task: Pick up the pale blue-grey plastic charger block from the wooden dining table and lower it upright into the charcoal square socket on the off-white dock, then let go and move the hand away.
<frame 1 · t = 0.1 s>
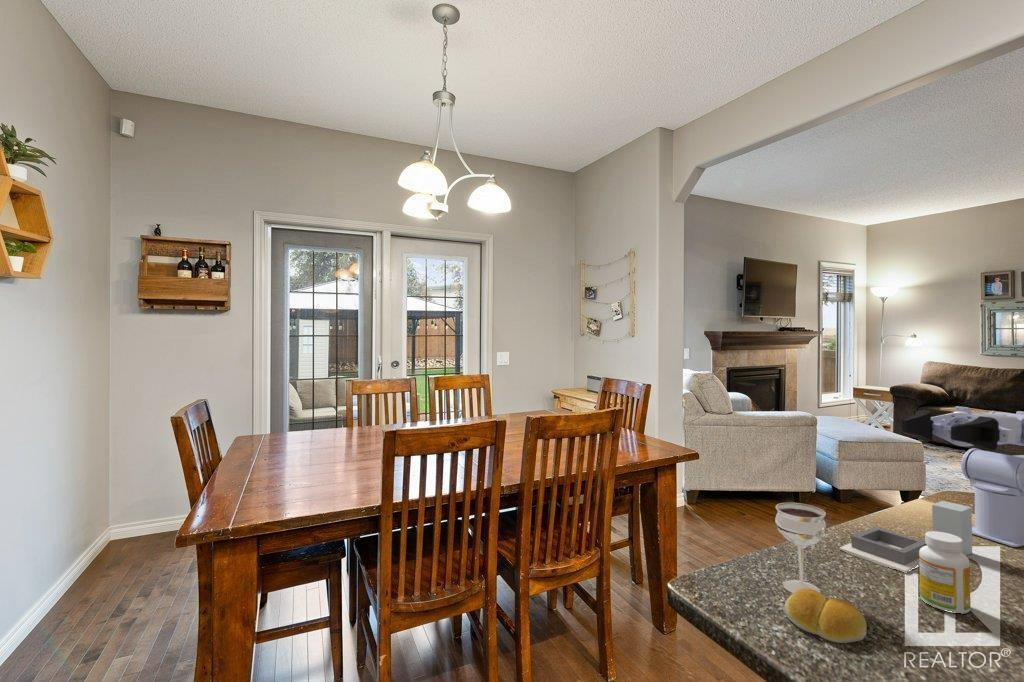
hand: (927, 429, 85), 22 cm above the countertop, tool horizontal, fingers open, 7 cm apart
bread roll: (823, 627, 65), on the countertop
dock: (889, 553, 85), on the countertop
wineglass: (801, 589, 74), on the countertop
supplement bottle: (944, 605, 69), on the countertop
charger block: (952, 551, 85), on the countertop
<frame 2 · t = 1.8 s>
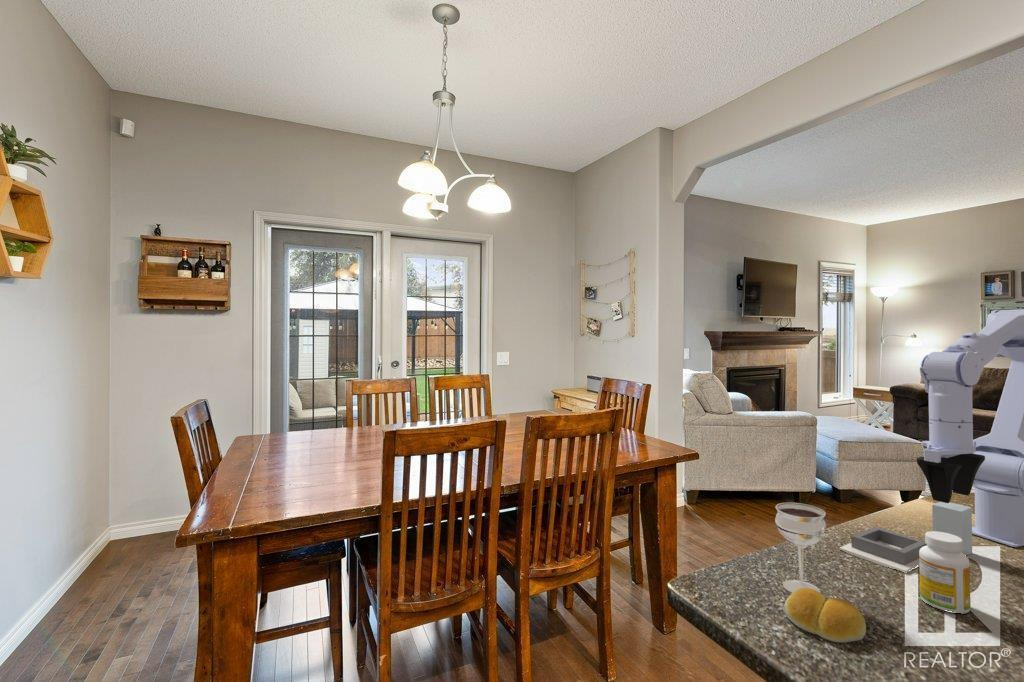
hand: (951, 497, 85), 9 cm above the countertop, tool pointing down, fingers open, 7 cm apart
nothing on the countertop moved.
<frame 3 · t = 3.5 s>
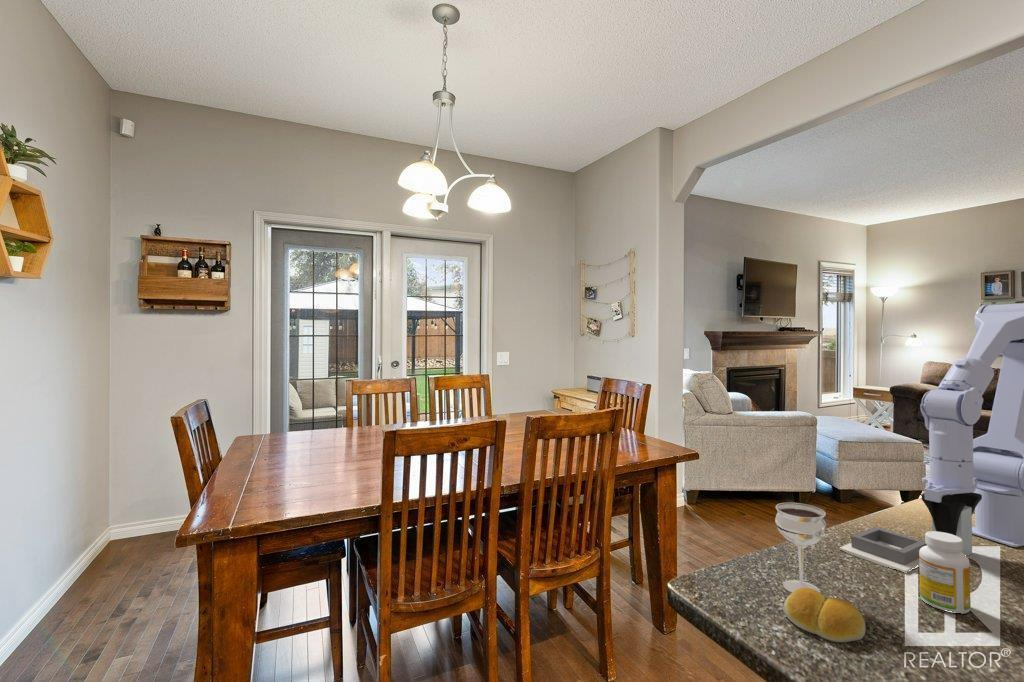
hand: (952, 535, 85), 3 cm above the countertop, tool pointing down, fingers closed on charger block, 4 cm apart
charger block: (952, 551, 85), on the countertop, touching gripper
everything else where it was.
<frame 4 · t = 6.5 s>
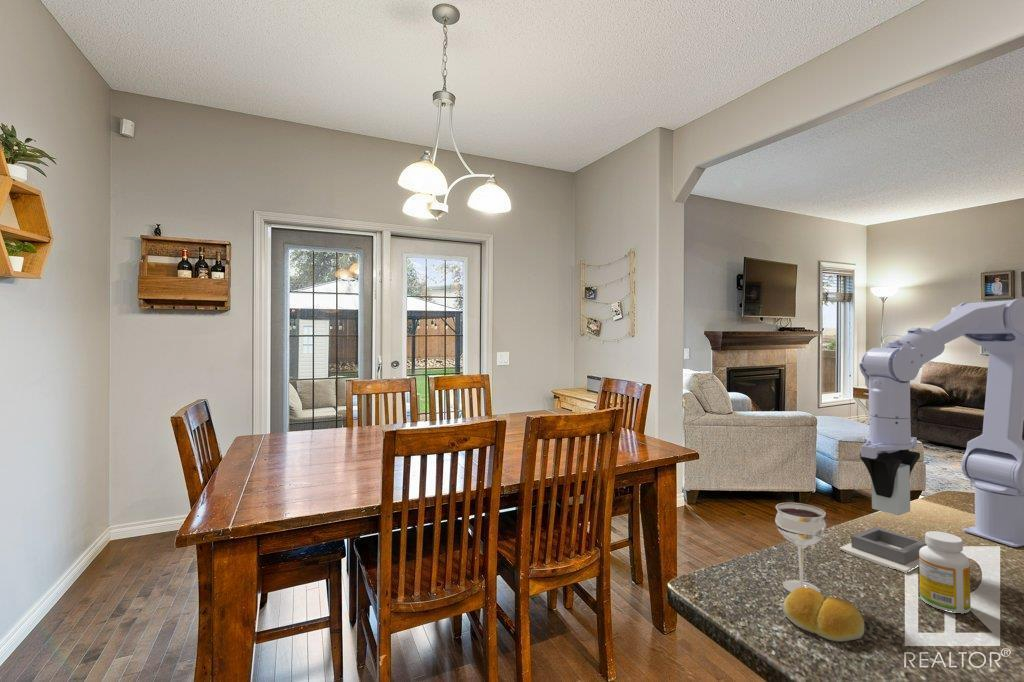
hand: (890, 493, 85), 10 cm above the countertop, tool pointing down, fingers closed on charger block, 4 cm apart
charger block: (890, 509, 85), point 8 cm above the countertop, touching gripper
everything else where it was.
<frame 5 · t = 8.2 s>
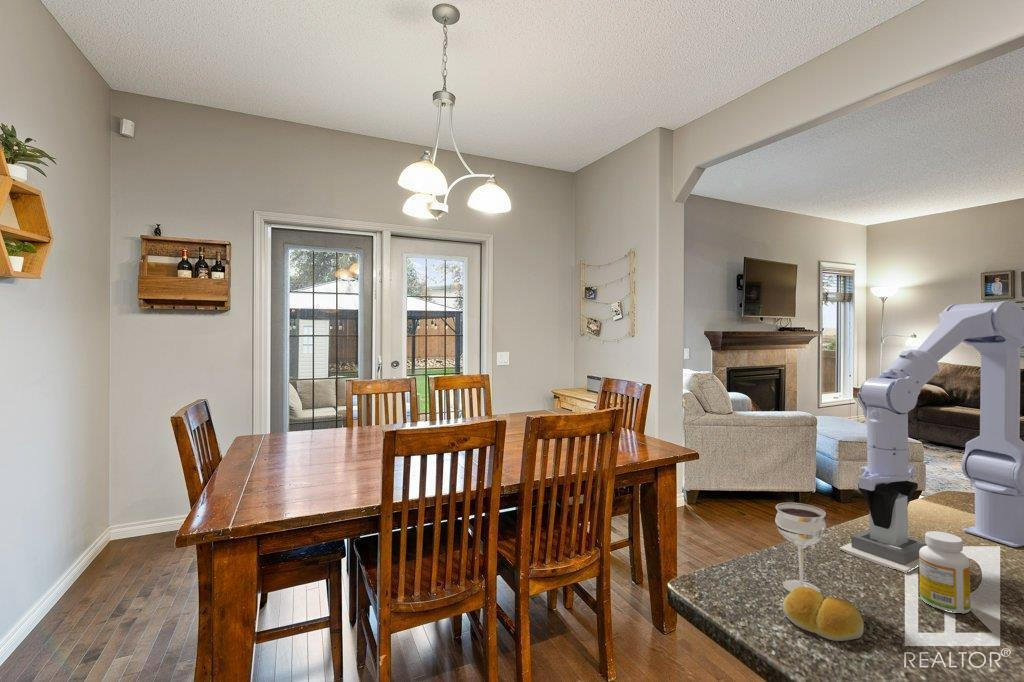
hand: (888, 524, 85), 5 cm above the countertop, tool pointing down, fingers closed on charger block, 4 cm apart
charger block: (888, 540, 85), point 2 cm above the countertop, touching gripper
everything else where it was.
when the fingers open (4 cm above the countertop, at t = 9.7 s): charger block stays where it is, resting on dock.
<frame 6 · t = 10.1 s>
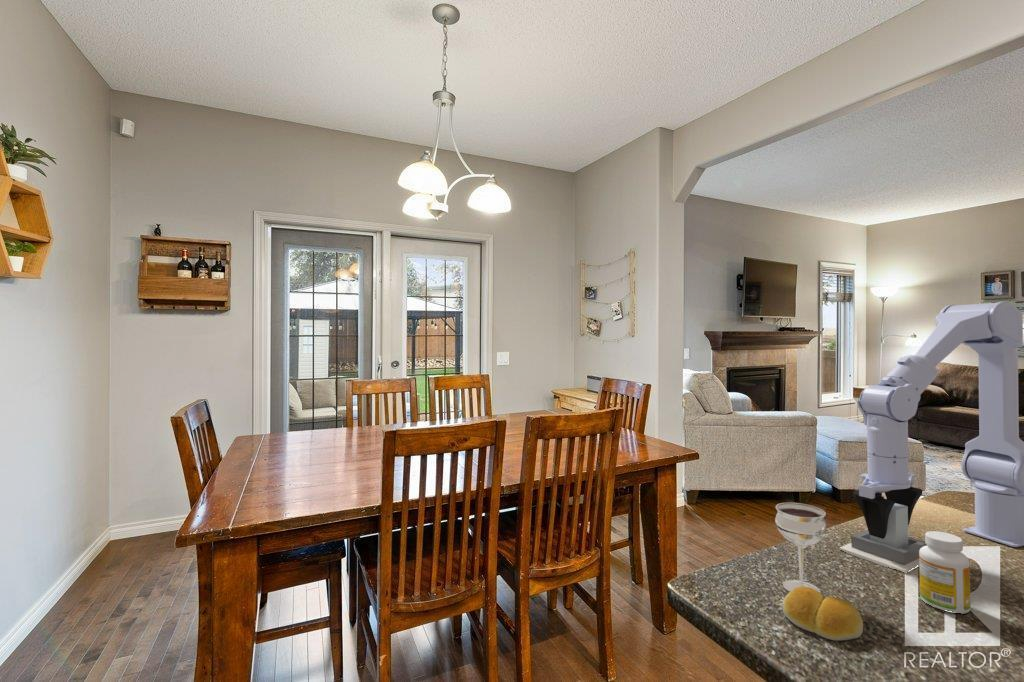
hand: (888, 531, 85), 4 cm above the countertop, tool pointing down, fingers open, 7 cm apart
charger block: (889, 550, 85), resting on dock
everything else where it was.
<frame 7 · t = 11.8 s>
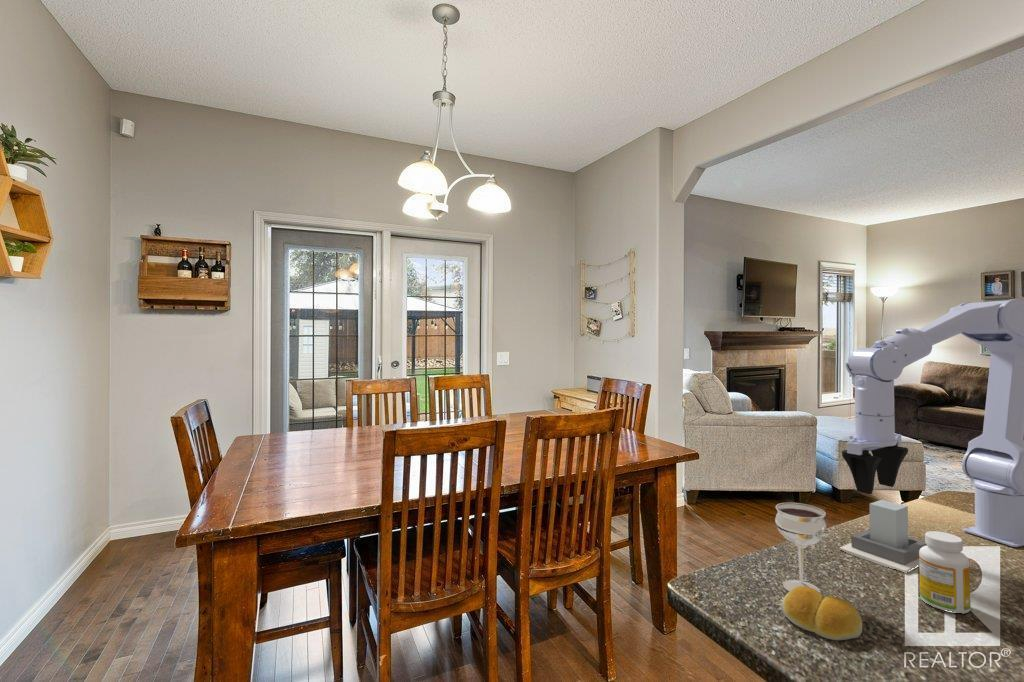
hand: (875, 488, 88), 10 cm above the countertop, tool pointing down, fingers open, 7 cm apart
nothing on the countertop moved.
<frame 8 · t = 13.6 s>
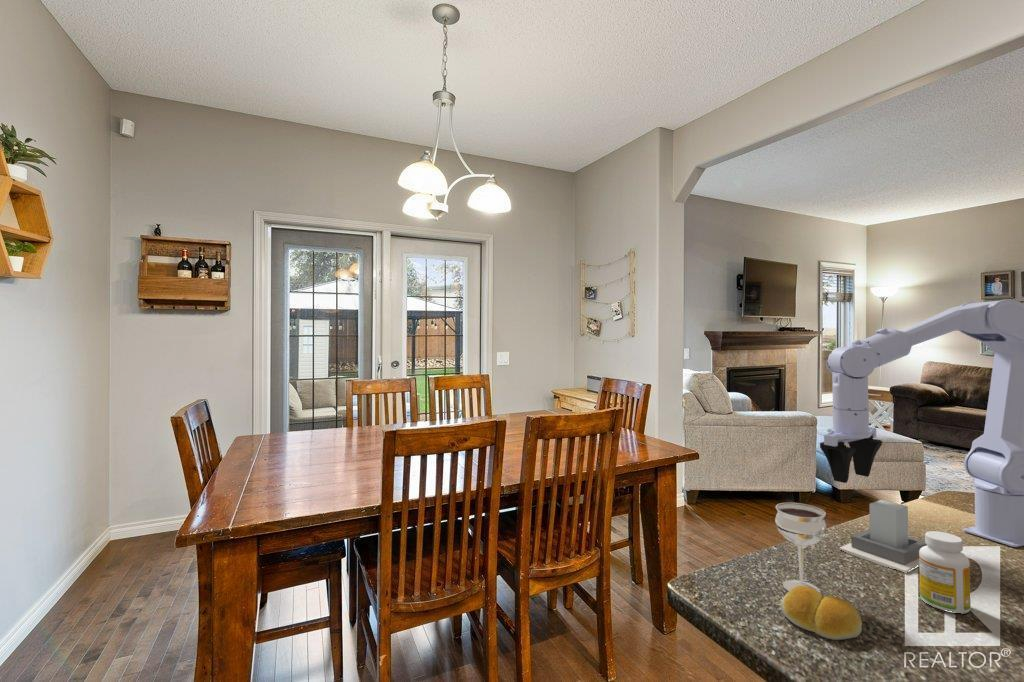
hand: (851, 478, 94), 10 cm above the countertop, tool pointing down, fingers open, 7 cm apart
nothing on the countertop moved.
at the end: charger block 0.0 cm off-centre on the dock, point 0.5 cm above the dock's base; charger block tilted 0°; the gripper is holding nothing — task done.
